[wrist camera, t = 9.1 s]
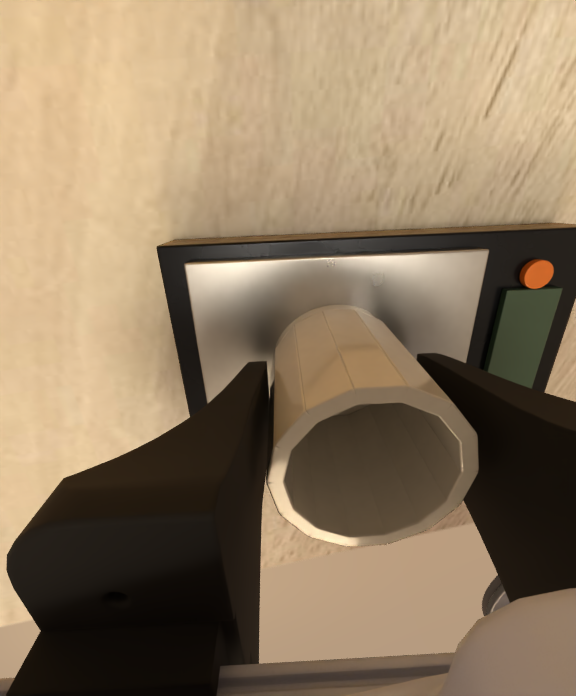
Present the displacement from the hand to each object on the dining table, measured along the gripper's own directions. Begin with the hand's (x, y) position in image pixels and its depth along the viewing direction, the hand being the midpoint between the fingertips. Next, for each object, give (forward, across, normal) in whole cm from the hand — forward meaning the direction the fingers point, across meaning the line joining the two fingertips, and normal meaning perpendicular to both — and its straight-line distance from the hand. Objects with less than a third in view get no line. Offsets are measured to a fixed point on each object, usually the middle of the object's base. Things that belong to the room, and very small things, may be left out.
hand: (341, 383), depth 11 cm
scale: (+4, -2, 0) cm, 4 cm away
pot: (+1, 0, 0) cm, 1 cm away
